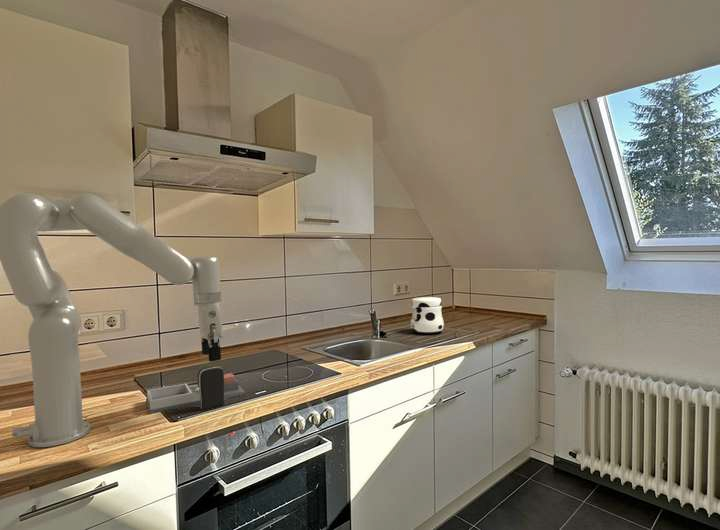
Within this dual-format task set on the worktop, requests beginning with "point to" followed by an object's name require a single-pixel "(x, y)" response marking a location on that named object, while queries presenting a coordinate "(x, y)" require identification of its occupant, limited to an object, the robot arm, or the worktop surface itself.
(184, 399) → the charging dock
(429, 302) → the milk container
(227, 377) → the red cube
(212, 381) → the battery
